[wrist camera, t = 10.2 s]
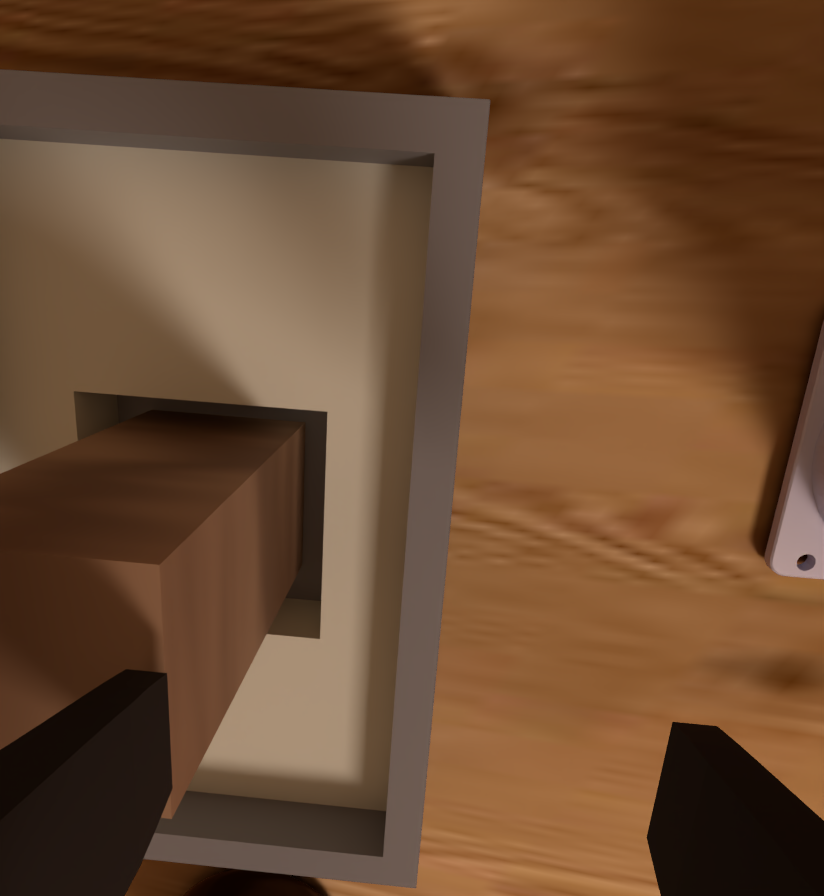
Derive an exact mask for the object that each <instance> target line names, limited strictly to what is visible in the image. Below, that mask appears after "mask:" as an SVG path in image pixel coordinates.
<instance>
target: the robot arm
mask: <svg viewBox="0 0 824 896" xmlns="http://www.w3.org/2000/svg"><path fill="white" fill-rule="evenodd" d="M806 554H807V556H808V557H807V559H806V561H805V562H803V563H802V564H798V565H797V560H798V559H799V557H801V556H802V555H806ZM765 562H766V564H767V566H768V567H769V568H771V569H772V570H773V571H774V572H775V573H777V574H779V575H782V576H791V577H803V578H814V579H824V321H823V325H822V329H821V333H820V337H819V341H818V345H817V349H816V353H815V357H814V361H813V364H812V368H811V372H810V376H809V380H808V384H807V388H806V392H805V396H804V400H803V404H802V408H801V412H800V416H799V420H798V424H797V428H796V432H795V436H794V440H793V444H792V448H791V452H790V456H789V460H788V464H787V468H786V472H785V476H784V480H783V484H782V488H781V492H780V496H779V500H778V504H777V508H776V512H775V516H774V520H773V524H772V528H771V532H770V536H769V540H768V544H767V548H766V552H765ZM172 789H173V785H172V764H171V743H170V722H169V700H168V679H167V673H161V672H151V671H141V670H130V669H125V670H124V671H122V672H120V673H119V674H117V675H115V676H114V677H112V678H110V679H109V680H107V681H105V682H104V683H102V684H101V685H99V686H98V687H96V688H95V689H93V690H91V691H90V692H88V693H87V694H85V695H84V696H82V697H81V698H79V699H78V700H76V701H75V702H73V703H72V704H70V705H68V706H67V707H65V708H64V709H62V710H61V711H59V712H58V713H56V714H55V715H53V716H52V717H50V718H49V719H47V720H46V721H44V722H43V723H41V724H40V725H38V726H36V727H35V728H33V729H32V730H30V731H29V732H27V733H26V734H24V735H23V736H21V737H19V738H18V739H16V740H15V741H13V742H12V743H10V744H9V745H7V746H5V747H4V748H2V749H1V750H0V896H124V895H125V893H126V892H127V890H128V888H129V886H130V884H131V882H132V880H133V879H134V877H135V875H136V873H137V871H138V869H139V867H140V865H141V863H142V861H143V858H144V856H145V854H146V851H147V849H148V847H149V844H150V842H151V840H152V838H153V835H154V833H155V831H156V828H157V826H158V823H159V821H160V818H161V816H162V813H163V811H164V808H165V806H166V804H167V801H168V799H169V796H170V794H171V791H172ZM647 840H648V845H649V849H650V853H651V857H652V861H653V865H654V870H655V874H656V878H657V882H658V886H659V890H660V894H661V896H824V821H823V820H822V819H821V818H820V817H819V816H818V815H817V814H815V813H814V812H813V811H812V810H811V809H810V808H809V807H808V806H807V805H805V804H804V803H803V802H802V801H801V800H800V799H799V798H798V797H797V796H796V795H794V794H793V793H792V792H791V791H790V790H789V789H788V788H787V787H786V786H784V785H783V784H782V783H781V782H780V781H779V780H778V779H777V778H776V777H774V776H773V775H772V774H771V773H770V772H769V771H768V770H767V769H766V768H765V767H763V766H762V765H761V764H760V763H759V762H758V761H757V760H756V759H755V758H753V757H752V756H751V755H750V754H749V753H748V752H747V751H746V750H744V749H743V748H742V747H741V746H740V745H739V744H738V743H736V742H735V741H734V740H733V739H732V738H731V737H729V736H728V735H727V734H726V733H725V732H723V731H722V730H721V729H720V728H719V727H717V726H709V725H699V724H689V723H678V722H673V723H672V727H671V732H670V736H669V741H668V745H667V749H666V754H665V758H664V763H663V767H662V772H661V776H660V781H659V785H658V790H657V794H656V799H655V803H654V807H653V812H652V816H651V821H650V825H649V830H648V834H647Z"/></svg>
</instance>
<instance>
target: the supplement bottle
mask: <svg viewBox="0 0 824 896" xmlns="http://www.w3.org/2000/svg"><path fill="white" fill-rule="evenodd" d="M184 896H321V895H320V894H319V893H318V892H317V891H315V890H314V889H313V888H311V887H310V886H308V885H307V884H305V883H303V882H302V881H300V880H298V879H296V878H293V877H291V876H288V875H286V874H278V873H269V872H260V871H250V870H241V869H234V870H228V871H224V872H221V873H218V874H215V875H212V876H210V877H208V878H206V879H204V880H202V881H201V882H199V883H197V884H196V885H195V886H193V887H192V888H191V889H190V890H189V891H188V892H186V893H185V894H184Z"/></svg>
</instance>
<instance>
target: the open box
mask: <svg viewBox="0 0 824 896" xmlns="http://www.w3.org/2000/svg"><path fill="white" fill-rule="evenodd" d="M489 108H490V100H488V99H472V98H456V97H439V96H423V95H407V94H391V93H375V92H359V91H342V90H326V89H310V88H294V87H278V86H262V85H245V84H229V83H213V82H197V81H181V80H165V79H148V78H132V77H116V76H100V75H84V74H67V73H51V72H35V71H19V70H3V69H0V474H1V473H3V472H5V471H8V470H10V469H12V468H15V467H17V466H20V465H22V464H24V463H27V462H29V461H31V460H34V459H36V458H38V457H41V456H43V455H46V454H48V453H50V452H53V451H55V450H57V449H60V448H62V447H64V446H67V445H69V444H72V443H74V442H76V441H79V440H81V439H83V438H86V437H88V436H91V435H93V434H95V433H98V432H100V431H102V430H105V429H107V428H109V427H112V426H114V425H117V424H119V423H121V422H124V421H126V420H128V419H131V418H133V417H135V416H138V415H140V414H143V413H145V412H147V411H150V410H161V411H173V412H186V413H198V414H210V415H222V416H234V417H247V418H259V419H271V420H283V421H295V422H305V465H304V508H303V552H302V566H301V568H300V570H299V572H298V574H297V576H296V578H295V580H294V582H293V584H292V586H291V588H290V590H289V592H288V593H287V595H286V597H285V599H284V601H283V603H282V605H281V607H280V609H279V611H278V613H277V615H276V617H275V619H274V621H273V623H272V625H271V627H270V629H269V630H268V632H267V634H266V636H265V638H264V640H263V642H262V644H261V646H260V648H259V650H258V652H257V654H256V656H255V658H254V660H253V662H252V664H251V666H250V667H249V669H248V671H247V673H246V675H245V677H244V679H243V681H242V683H241V685H240V687H239V689H238V691H237V693H236V695H235V697H234V699H233V701H232V703H231V704H230V706H229V708H228V710H227V712H226V714H225V716H224V718H223V720H222V722H221V724H220V726H219V728H218V730H217V732H216V734H215V736H214V738H213V740H212V741H211V743H210V745H209V747H208V749H207V751H206V753H205V755H204V757H203V759H202V761H201V763H200V765H199V767H198V769H197V771H196V773H195V775H194V777H193V778H192V780H191V782H190V784H189V786H188V788H187V790H186V792H185V794H184V796H183V798H182V800H181V802H180V804H179V806H178V808H177V810H176V812H175V814H174V815H173V817H172V819H167V818H160V821H159V823H158V826H157V828H156V831H155V833H154V835H153V838H152V840H151V842H150V844H149V847H148V849H147V851H146V854H145V856H144V858H143V859H148V860H158V861H167V862H176V863H186V864H195V865H204V866H213V867H223V868H232V869H241V870H250V871H260V872H269V873H278V874H288V875H297V876H306V877H315V878H325V879H334V880H343V881H352V882H362V883H371V884H380V885H390V886H399V887H408V888H416V884H417V873H418V863H419V852H420V841H421V831H422V820H423V809H424V799H425V788H426V778H427V767H428V756H429V746H430V735H431V725H432V714H433V703H434V693H435V682H436V671H437V661H438V650H439V640H440V629H441V618H442V608H443V597H444V586H445V576H446V565H447V555H448V544H449V533H450V523H451V512H452V501H453V491H454V480H455V470H456V459H457V448H458V438H459V427H460V416H461V406H462V395H463V385H464V374H465V363H466V353H467V342H468V332H469V321H470V310H471V300H472V289H473V278H474V268H475V257H476V247H477V236H478V225H479V215H480V204H481V193H482V183H483V172H484V162H485V151H486V140H487V130H488V119H489Z"/></svg>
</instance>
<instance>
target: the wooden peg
mask: <svg viewBox="0 0 824 896" xmlns="http://www.w3.org/2000/svg"><path fill="white" fill-rule="evenodd" d="M304 465H305V422H295V421H283V420H271V419H259V418H247V417H234V416H222V415H210V414H198V413H186V412H173V411H161V410H150V411H147V412H145V413H143V414H140V415H138V416H135V417H133V418H131V419H128V420H126V421H124V422H121V423H119V424H117V425H114V426H112V427H109V428H107V429H105V430H102V431H100V432H98V433H95V434H93V435H91V436H88V437H86V438H83V439H81V440H79V441H76V442H74V443H72V444H69V445H67V446H64V447H62V448H60V449H57V450H55V451H53V452H50V453H48V454H46V455H43V456H41V457H38V458H36V459H34V460H31V461H29V462H27V463H24V464H22V465H20V466H17V467H15V468H12V469H10V470H8V471H5V472H3V473H1V474H0V750H1V749H2V748H4V747H5V746H7V745H9V744H10V743H12V742H13V741H15V740H16V739H18V738H19V737H21V736H23V735H24V734H26V733H27V732H29V731H30V730H32V729H33V728H35V727H36V726H38V725H40V724H41V723H43V722H44V721H46V720H47V719H49V718H50V717H52V716H53V715H55V714H56V713H58V712H59V711H61V710H62V709H64V708H65V707H67V706H68V705H70V704H72V703H73V702H75V701H76V700H78V699H79V698H81V697H82V696H84V695H85V694H87V693H88V692H90V691H91V690H93V689H95V688H96V687H98V686H99V685H101V684H102V683H104V682H105V681H107V680H109V679H110V678H112V677H114V676H115V675H117V674H119V673H120V672H122V671H124V670H125V669H130V670H141V671H151V672H161V673H167V679H168V700H169V722H170V743H171V764H172V785H173V789H172V791H171V794H170V796H169V799H168V801H167V804H166V806H165V808H164V811H163V813H162V816H161V818H167V819H172V817H173V815H174V814H175V812H176V810H177V808H178V806H179V804H180V802H181V800H182V798H183V796H184V794H185V792H186V790H187V788H188V786H189V784H190V782H191V780H192V778H193V777H194V775H195V773H196V771H197V769H198V767H199V765H200V763H201V761H202V759H203V757H204V755H205V753H206V751H207V749H208V747H209V745H210V743H211V741H212V740H213V738H214V736H215V734H216V732H217V730H218V728H219V726H220V724H221V722H222V720H223V718H224V716H225V714H226V712H227V710H228V708H229V706H230V704H231V703H232V701H233V699H234V697H235V695H236V693H237V691H238V689H239V687H240V685H241V683H242V681H243V679H244V677H245V675H246V673H247V671H248V669H249V667H250V666H251V664H252V662H253V660H254V658H255V656H256V654H257V652H258V650H259V648H260V646H261V644H262V642H263V640H264V638H265V636H266V634H267V632H268V630H269V629H270V627H271V625H272V623H273V621H274V619H275V617H276V615H277V613H278V611H279V609H280V607H281V605H282V603H283V601H284V599H285V597H286V595H287V593H288V592H289V590H290V588H291V586H292V584H293V582H294V580H295V578H296V576H297V574H298V572H299V570H300V568H301V566H302V552H303V508H304Z"/></svg>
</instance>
